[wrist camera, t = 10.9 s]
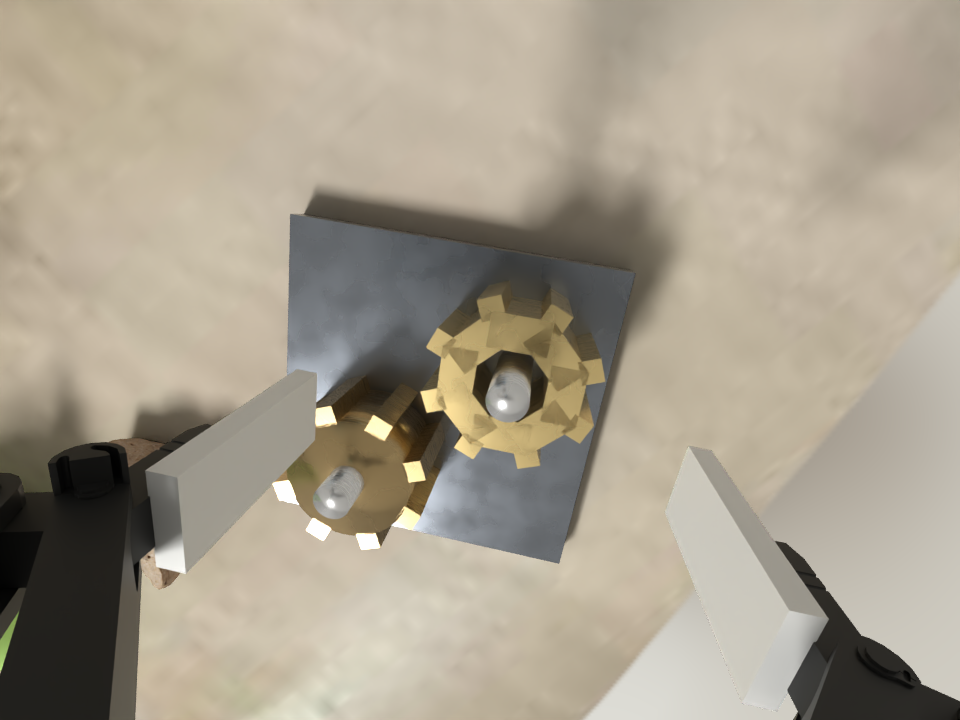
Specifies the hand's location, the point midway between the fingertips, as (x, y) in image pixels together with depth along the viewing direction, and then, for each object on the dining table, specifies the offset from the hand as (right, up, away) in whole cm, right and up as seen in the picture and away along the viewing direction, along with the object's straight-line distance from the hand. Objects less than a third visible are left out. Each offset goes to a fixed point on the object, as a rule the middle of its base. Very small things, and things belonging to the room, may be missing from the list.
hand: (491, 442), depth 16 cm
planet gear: (+2, +3, +11) cm, 12 cm away
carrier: (-3, +1, +14) cm, 15 cm away
